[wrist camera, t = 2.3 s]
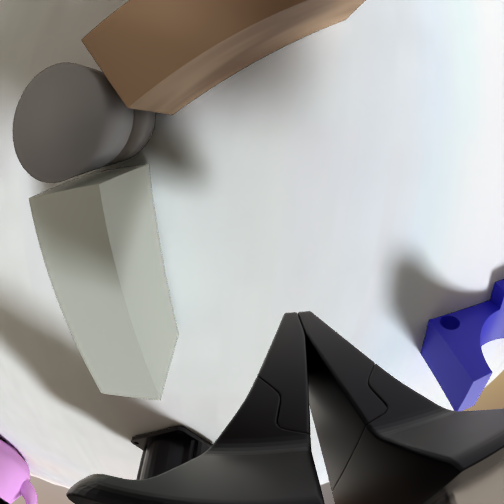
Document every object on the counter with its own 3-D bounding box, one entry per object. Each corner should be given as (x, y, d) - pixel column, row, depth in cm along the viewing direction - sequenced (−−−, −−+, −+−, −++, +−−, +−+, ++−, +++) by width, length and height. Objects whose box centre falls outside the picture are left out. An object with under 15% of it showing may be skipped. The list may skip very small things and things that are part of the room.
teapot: (-19, 439, 31) (-39, 482, 17) (-42, 398, 24) (-73, 453, 10) (64, 491, 36) (50, 540, 22) (62, 471, 29) (40, 539, 15)
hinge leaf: (77, 91, 10) (11, 85, 6) (151, 72, 10) (102, 46, 6) (123, 332, 15) (94, 392, 11) (185, 334, 15) (169, 400, 11)
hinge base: (109, 178, 12) (47, 206, 8) (70, 118, 11) (-1, 123, 6) (350, 26, 10) (400, -15, 5) (302, -32, 8) (326, -89, 4)
